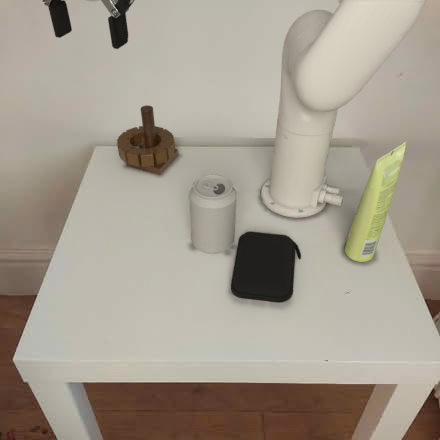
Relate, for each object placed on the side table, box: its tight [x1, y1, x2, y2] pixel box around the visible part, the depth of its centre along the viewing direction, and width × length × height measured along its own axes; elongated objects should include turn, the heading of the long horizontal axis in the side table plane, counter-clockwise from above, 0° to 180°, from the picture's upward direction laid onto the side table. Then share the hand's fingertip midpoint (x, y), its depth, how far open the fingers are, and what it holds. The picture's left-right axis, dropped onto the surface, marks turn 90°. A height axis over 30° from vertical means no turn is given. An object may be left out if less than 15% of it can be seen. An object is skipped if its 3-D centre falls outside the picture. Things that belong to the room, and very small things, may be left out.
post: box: [125, 104, 179, 176], centre depth 91 cm, size 8×8×12 cm
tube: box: [344, 141, 408, 263], centre depth 71 cm, size 6×5×20 cm
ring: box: [116, 125, 176, 167], centre depth 94 cm, size 12×12×3 cm
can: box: [188, 174, 237, 255], centre depth 75 cm, size 8×8×12 cm
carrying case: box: [230, 230, 302, 304], centre depth 73 cm, size 11×3×15 cm
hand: (91, 39), depth 66 cm, fingers open, 9 cm apart
